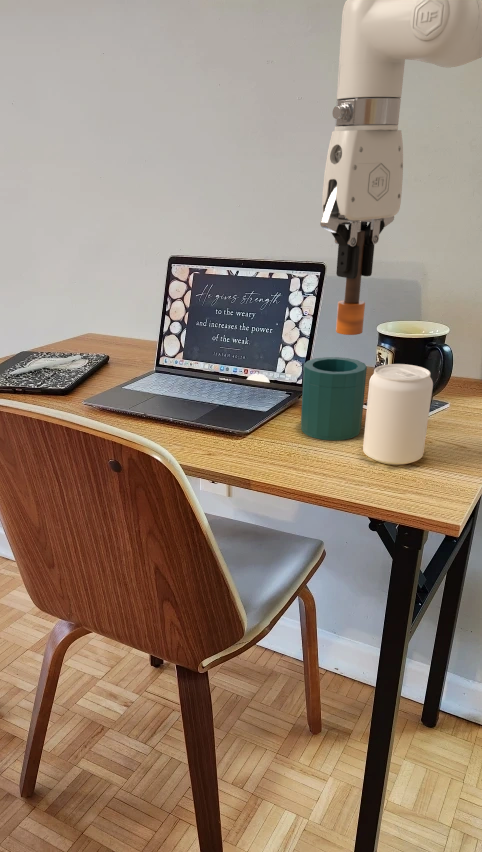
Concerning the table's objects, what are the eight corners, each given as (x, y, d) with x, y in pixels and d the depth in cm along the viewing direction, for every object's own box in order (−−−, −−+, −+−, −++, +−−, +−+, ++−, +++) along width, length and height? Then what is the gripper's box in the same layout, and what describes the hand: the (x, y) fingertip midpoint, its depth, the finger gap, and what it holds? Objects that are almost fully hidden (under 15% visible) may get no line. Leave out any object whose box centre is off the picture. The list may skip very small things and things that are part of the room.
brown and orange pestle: (365, 330, 95) (374, 230, 89) (359, 336, 92) (368, 232, 86) (339, 327, 97) (347, 229, 91) (332, 333, 94) (340, 232, 88)
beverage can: (391, 440, 100) (400, 359, 95) (435, 458, 94) (448, 373, 89) (350, 452, 96) (357, 369, 91) (393, 472, 90) (404, 384, 85)
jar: (366, 423, 106) (372, 360, 102) (352, 444, 99) (358, 376, 95) (310, 416, 110) (314, 354, 105) (293, 435, 103) (296, 370, 98)
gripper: (342, 115, 76) (330, 287, 84) (435, 116, 84) (415, 273, 92) (296, 118, 81) (289, 279, 90) (387, 119, 90) (373, 266, 98)
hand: (353, 275), depth 91 cm, fingers closed on brown and orange pestle, 2 cm apart
